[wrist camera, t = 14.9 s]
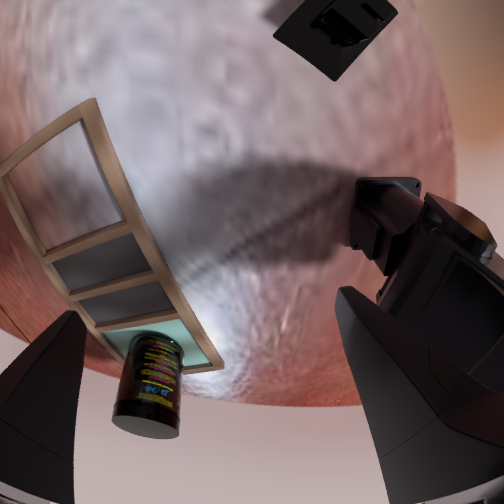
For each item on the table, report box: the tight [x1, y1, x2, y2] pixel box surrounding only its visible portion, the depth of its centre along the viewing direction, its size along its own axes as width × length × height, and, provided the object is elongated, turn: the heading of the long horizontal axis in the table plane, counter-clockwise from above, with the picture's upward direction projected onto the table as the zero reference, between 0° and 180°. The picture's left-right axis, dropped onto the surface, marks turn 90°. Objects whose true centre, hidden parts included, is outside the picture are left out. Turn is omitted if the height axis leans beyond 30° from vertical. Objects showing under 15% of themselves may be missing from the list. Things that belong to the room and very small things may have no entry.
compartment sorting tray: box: [0, 98, 224, 375], centre depth 23 cm, size 31×13×1 cm, turn 14°
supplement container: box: [112, 332, 185, 439], centre depth 24 cm, size 7×7×10 cm
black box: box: [273, 0, 398, 82], centre depth 11 cm, size 12×7×5 cm, turn 144°
